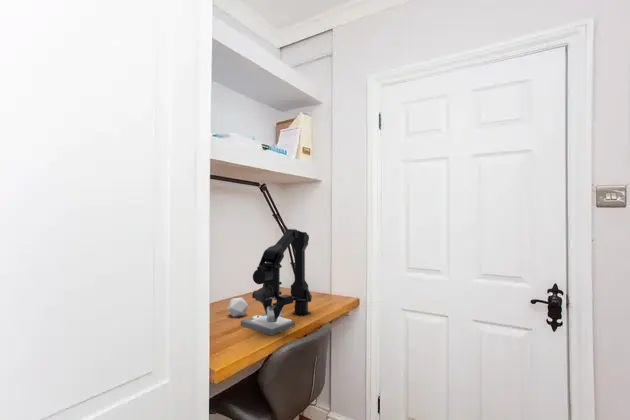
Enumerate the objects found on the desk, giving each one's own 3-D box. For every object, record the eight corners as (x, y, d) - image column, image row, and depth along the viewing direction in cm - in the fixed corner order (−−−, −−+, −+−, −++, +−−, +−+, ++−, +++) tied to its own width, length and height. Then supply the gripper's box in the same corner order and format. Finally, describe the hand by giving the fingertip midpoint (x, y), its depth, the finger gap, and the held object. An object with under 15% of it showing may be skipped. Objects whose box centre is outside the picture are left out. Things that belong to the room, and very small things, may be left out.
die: (244, 313, 162) (232, 297, 162) (254, 307, 157) (242, 290, 157) (233, 324, 155) (220, 307, 155) (243, 318, 150) (230, 300, 150)
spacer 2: (277, 316, 155) (277, 303, 155) (284, 318, 152) (284, 305, 152) (270, 319, 151) (270, 305, 151) (277, 321, 148) (277, 307, 148)
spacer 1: (272, 318, 139) (272, 303, 139) (279, 320, 136) (279, 305, 136) (264, 320, 135) (264, 306, 135) (272, 323, 132) (272, 308, 132)
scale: (264, 317, 153) (264, 311, 153) (295, 326, 142) (295, 319, 142) (240, 325, 142) (240, 318, 142) (271, 335, 130) (271, 328, 130)
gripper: (242, 279, 135) (242, 318, 135) (274, 286, 124) (274, 328, 123) (262, 276, 144) (262, 311, 144) (294, 281, 132) (294, 320, 132)
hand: (272, 317), depth 136 cm, fingers closed on spacer 1, 4 cm apart
